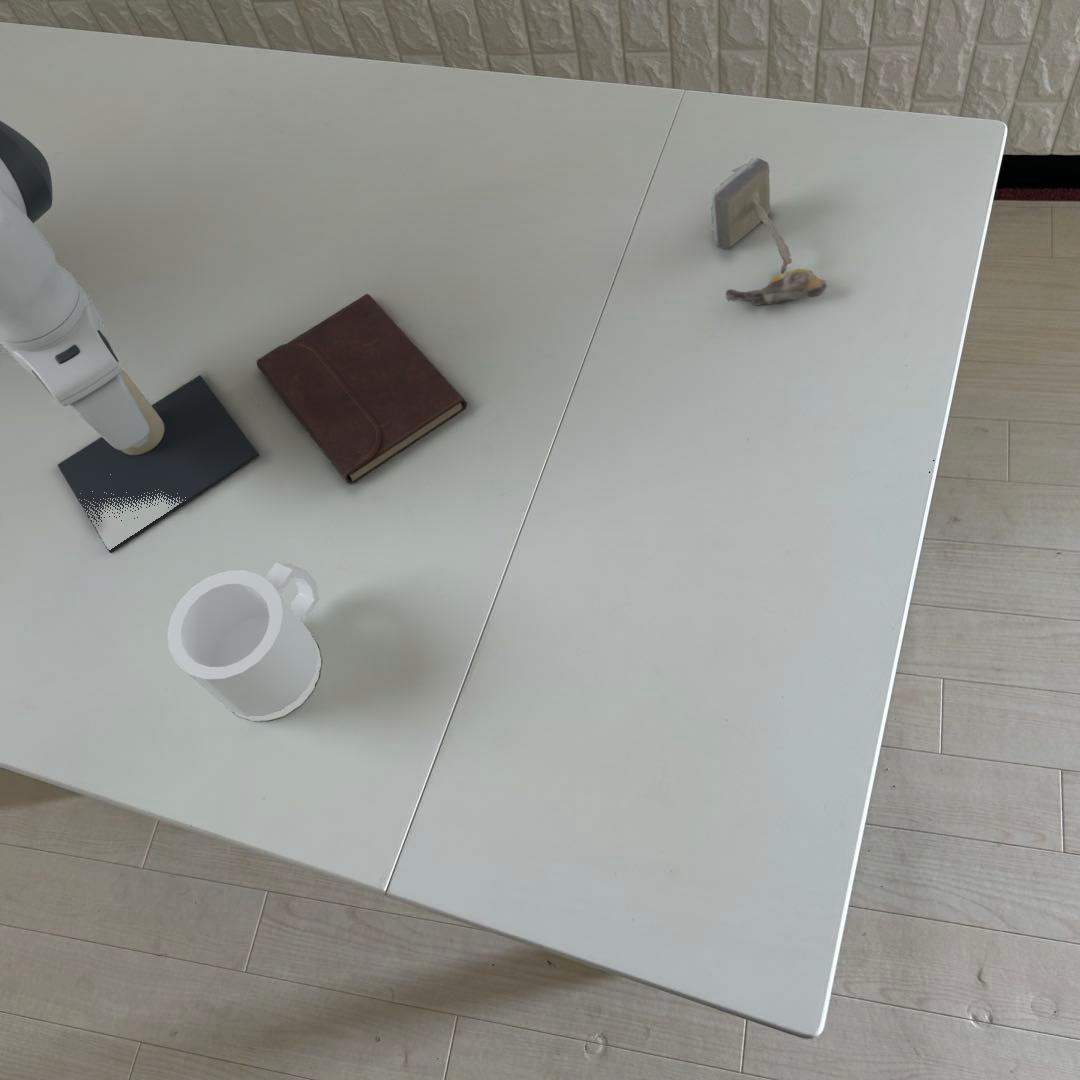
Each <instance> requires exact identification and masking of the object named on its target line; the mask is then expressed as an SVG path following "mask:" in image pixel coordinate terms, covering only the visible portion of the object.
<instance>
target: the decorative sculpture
mask: <svg viewBox="0 0 1080 1080" xmlns="http://www.w3.org/2000/svg"><path fill="white" fill-rule="evenodd" d="M731 172H732V174H731V175H730V176H728V177H727V178H726V179H725V180H724V181H722V182H721V183H720V184H719V186H718V187H716V188H715V189H714V192H713V194H712V196H711V206H710V217H711V224H712V228H711V230H710V232H711V234H712V239H713V241H714V242H715V244H716V245H717V246H718V247H720V248H721V249H724V250H729V249H730V248H732V247H733V246H734V245H736V244H737V243H738V242H739V241H740V240H742V239H743V238H744V237H745V236H747V234H749V233H750V232H752V230H753V229H754V228H755V227H757V226H758V225H759V224H760V223H761V222H762V224H764V225H765V227H766V228H767V229H768V230H769V232H770V234H771V236H772V238H773V239H774V242H775V244H776V246H777V247H778V253H779V255H780V257H781V259H782V261H783V262H782V265H781V267H780V273H779V274H776V275H775V276H774V277H772V278H771V279H770V281H769V282H768V283H767V285H766V286H765V287H762V288H761V289H760V288H759V289H754V290H748V291H740V290H739V291H738V290H736V289H732V288H731V289H727V290H726V291H725V298H726V301H728V302H730V301H735V302H736V301H742V302H751V303H752V304H753V305H754V306H760V305H763V304H767V305H774V304H778V303H782V302H784V301H788V300H798V299H803V298H805V297H809V298H816V297H819V296H821V295H823V294H824V293H825V292H826V290H827V288H828V287H827V286H828V285H827V282H828V281H827V280H825V279H820V278H819V277H817V275H816V274H815V273H814V272H813V271H812V270H810V269H804V268H798V269H794V270H791V271H788V272H787V269H788V265H790V264H791V263H792V262H793V260H792V258H791V251H790V247H789V246H788V245H787V244H786V241H785V239H784V238H783V237H782V235H780V233H779V231H778V229H777V227H776V226H775V223H773V221H772V220H771V219H770V217H769V215H770V212H771V196H770V195H771V194H770V193H771V191H770V165H769V162H767V161H766V160H764V159H761V158H758V157H754V158H751V159H750V160H749V161H748V163H744V164H742V165H741V166H738V167H736V168H733V169H731Z"/></svg>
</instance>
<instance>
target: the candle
mask: <svg viewBox="0 0 1080 1080" xmlns="http://www.w3.org/2000/svg"><path fill="white" fill-rule="evenodd" d="M120 375H121V377H122V379H123V381H124V382H125V384H126V386H127V388H128V389H129V391H130V393H131V395H132V396H133V398H134V400H135V401H136V403H137V405H138V407H139V408H140V410H141V412H142V413H143V415H144V417H145V419H146V421H147V423H148V425H149V427H150V434H149V435H148V438H149V439H148V441H147V442H146V443H145V444H143V445H141V446H140V447H138V448H134V447H133V446H132V447H130V448H128V449H126V450H123V451H122V452H124V453H126V454H129V455H139V454H143V453H146V452H148V451H150V450H151V449H153V448H154V447H155V446H156V445H157V444H158V443H159V442H160V441H161V439H162V437H163V435H164V423H163V421H162V419H161V418H160V417H159V415H158V414H157V412H156V411H155V410H154V409H153V407H152V406H151V405H152V404H151V403H150V402H149V401H148V399H147V398H146V397H145V395H144V394H143V393H142V391H141V389H140V388H138V386H137V385H136V384H135V382H134V381H133V380H132V378H131V377H130V376H129V375H128V373H127V372H126V371H125V370H124V369H123V368H122V372H121V373H120Z"/></svg>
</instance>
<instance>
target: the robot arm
mask: <svg viewBox="0 0 1080 1080" xmlns="http://www.w3.org/2000/svg"><path fill="white" fill-rule="evenodd" d="M52 206H53V180H52V174H51V170H50V167H49V162H48V160H47V159H46V157H45V155H43V153H42V152H41V151H40V149H38V147H36V145H34V143H32V142H31V141H30V140H29V139H28V138H27V137H25V136H24V135H22V134H21V133H20V132H19V131H18V130H16V129H14V128H13V127H12V126H10V125H8V124H6V123H5V122H3V121H2V120H0V344H1V346H3V348H4V349H5V350H6V351H7V352H8V353H9V354H10V355H11V356H12V358H14V360H15V361H16V362H17V364H19V365H20V367H22V368H23V369H25V370H26V371H27V372H28V373H30V374H31V375H32V376H34V377H35V378H36V379H38V380H39V382H40V383H41V384H42V385H43V387H44V388H45V389H46V391H47V392H48V393H49V395H51V397H53V399H54V400H55V401H56V402H57V403H58V404H59V405H60V406H61V407H64V408H65V407H68V406H70V407H71V408H72V410H74V411H75V412H76V414H78V416H79V417H80V418H81V419H82V420H83V421H84V422H85V423H86V424H87V425H89V426H90V428H92V429H93V430H94V431H95V432H96V433H97V434H98V435H99V436H100V438H101V437H103V438H104V439H105V440H106V441H107V442H108V443H109V444H110V445H111V446H113V447H114V448H115V449H117V450H121V451H123V450H126V449H128V448H130V447H132V446H133V447H134V448H138V447H140V446H141V445H143V444H145V443H146V442H147V441H148V439H149V438H148V435H149V434H150V427H149V425H148V423H147V421H146V419H145V417H144V415H143V413H142V412H141V410H140V408H139V407H138V405H137V403H136V401H135V400H134V398H133V396H132V395H131V393H130V391H129V389H128V388H127V386H126V384H125V382H124V381H123V379H122V377H121V375H120V373H121V372H122V369H123V367H122V366H121V364H120V363H119V359H118V358H117V355H116V354H115V352H114V350H113V348H112V346H111V344H110V341H109V338H108V335H107V330H106V328H105V326H104V325H105V324H104V318H103V315H102V313H101V312H100V310H99V309H98V307H97V306H96V305H95V303H94V302H93V301H92V299H91V298H90V297H89V296H88V294H87V293H86V291H85V290H84V289H83V287H82V286H81V284H79V282H78V280H77V279H76V278H75V277H74V275H73V274H72V273H71V272H70V271H68V270H67V269H66V268H65V267H63V266H62V265H61V264H59V262H58V261H57V259H56V255H55V252H54V250H53V248H52V246H51V245H50V243H49V242H48V240H47V239H46V238H45V236H44V235H43V234H42V233H41V231H40V229H38V227H37V226H36V225H35V224H34V223H36V222H37V221H38V220H39V219H40V218H42V217H43V216H44V215H45V214H46V213H47V212H48V211H50V210H51V208H52Z"/></svg>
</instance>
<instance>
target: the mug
mask: <svg viewBox="0 0 1080 1080" xmlns="http://www.w3.org/2000/svg"><path fill="white" fill-rule="evenodd" d="M292 579H293V580H294V582H295V585H296V589H297V590H296V591H297V594H296V595H295V597H294V598H293V599H292V601H291V602H290V605H289V604H288V603H287V601H286V600H285V599H284V597H283V596H282V593H283V592H284V590H285V589H286V587H287V586H288V585H289V583H290V581H292ZM319 600H320V596H319V591H318V585H317V581H316V580H315V579H314V578H313V577H312V575H311V574H310V573H309V572H308V570H306V569H304V568H301V567H299V566H297V565H294V564H292V563H288V562H279V561H275V562H274V564H273V565H272V566H271V568H270V570H269V571H268V572H267V573H266V575H265V577H263V576H262V575H260V574H258V573H254V572H251V571H248V570H244V569H241V570H225V571H222V572H219V573H215V574H213V575H209V576H207V577H205V578H204V579H202V580H201V581H199V582H198V583H196V584H195V585H193V586H192V587H191V588H190V589H189V590H188V591H187V592H186V593H185V594H184V595H183V596H182V597H181V598H180V600H179V601H178V602H177V604H176V606H175V607H174V610H173V612H172V613H171V615H170V616H169V617H170V618H169V623H168V628H167V632H166V637H167V646H168V652H169V653H170V655H171V657H172V659H173V660H174V663H175V664H176V665H177V666H178V667H179V668H180V669H181V670H182V671H184V672H185V673H186V674H187V675H188V676H189V677H190V678H192V679H193V680H194V681H195V682H196V683H197V684H198V685H199V686H201V687H202V688H203V689H204V690H205V691H207V692H208V693H209V694H210V695H211V696H212V697H214V699H216V700H217V701H218V702H219V703H220V702H221V703H220V704H221V705H223V706H224V707H225V706H226V707H227V708H228V709H227V708H226V707H225V708H226V709H227V710H229V712H231V711H232V712H234V713H238V714H241V715H244V716H247V717H249V716H265V715H268V714H271V713H274V712H277V711H281V710H282V709H284V708H285V707H286V706H288V705H290V704H291V703H293V702H294V701H296V700H297V699H298V698H299V697H300V695H301V694H302V693H303V692H304V691H305V690H306V689H307V687H308V686H309V684H310V682H311V680H312V678H313V676H314V674H315V672H316V666H317V660H318V652H317V647H316V642H317V641H316V642H315V640H316V639H315V637H314V636H313V634H312V633H311V631H310V630H309V629H308V628H307V626H306V625H305V624H304V623H305V622H306V620H307V619H308V618H309V616H310V614H311V613H312V612H313V610H314V609H315V607H316V605H317V604H318V602H319ZM309 631H310V632H309ZM311 634H312V635H311ZM312 636H313V637H314V638H313V637H312ZM314 639H315V640H314ZM232 712H231V713H232ZM234 713H233V714H234Z"/></svg>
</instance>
